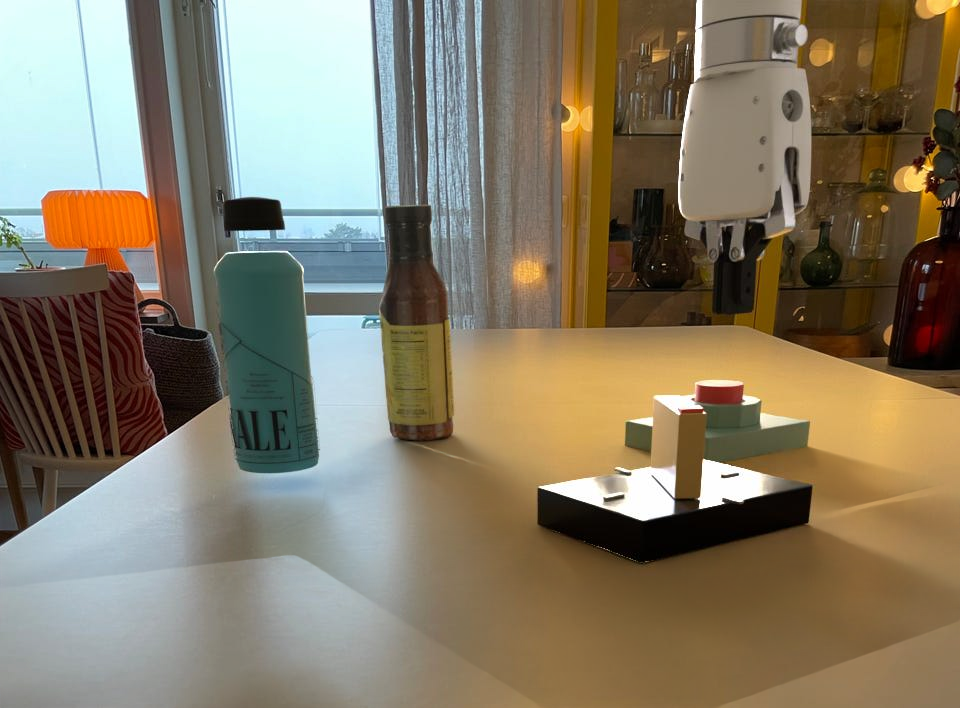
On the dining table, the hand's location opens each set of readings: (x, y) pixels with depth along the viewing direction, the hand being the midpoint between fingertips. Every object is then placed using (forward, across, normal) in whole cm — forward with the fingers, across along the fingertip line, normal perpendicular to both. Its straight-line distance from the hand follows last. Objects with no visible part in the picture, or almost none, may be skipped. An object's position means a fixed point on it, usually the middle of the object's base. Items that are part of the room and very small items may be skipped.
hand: (732, 312), depth 80 cm
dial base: (+11, -15, +21) cm, 28 cm away
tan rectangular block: (+8, -15, +21) cm, 27 cm away
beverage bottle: (+10, +11, +37) cm, 40 cm away
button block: (+11, +1, +1) cm, 11 cm away
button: (+7, +1, +1) cm, 7 cm away
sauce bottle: (+10, +21, +18) cm, 30 cm away
